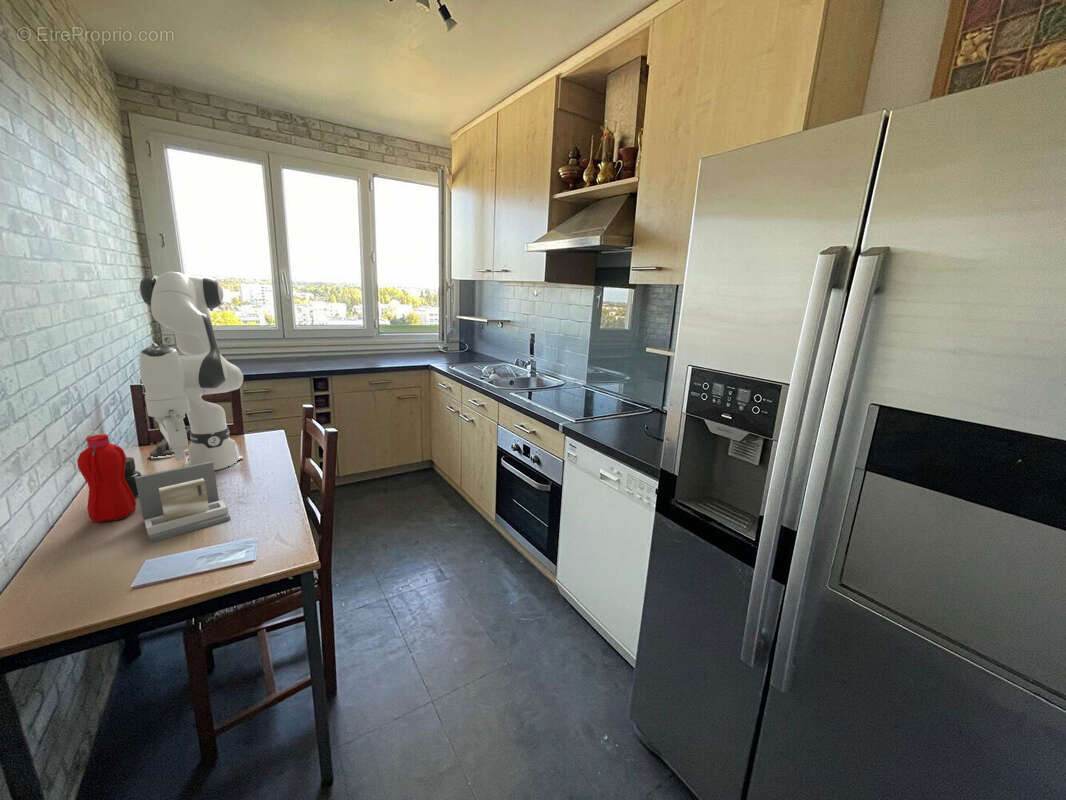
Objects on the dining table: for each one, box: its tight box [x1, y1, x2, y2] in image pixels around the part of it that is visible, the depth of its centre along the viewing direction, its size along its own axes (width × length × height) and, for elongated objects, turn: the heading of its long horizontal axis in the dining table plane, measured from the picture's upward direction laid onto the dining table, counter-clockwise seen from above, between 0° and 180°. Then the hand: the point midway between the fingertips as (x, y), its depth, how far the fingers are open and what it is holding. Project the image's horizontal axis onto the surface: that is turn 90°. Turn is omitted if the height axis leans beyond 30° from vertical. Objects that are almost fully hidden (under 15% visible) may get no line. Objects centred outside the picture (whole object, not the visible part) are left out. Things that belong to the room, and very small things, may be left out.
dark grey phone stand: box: [149, 425, 191, 457], centre depth 183 cm, size 9×7×25 cm
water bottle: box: [76, 433, 137, 523], centre depth 125 cm, size 9×11×25 cm
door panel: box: [159, 478, 209, 522], centre depth 123 cm, size 3×10×11 cm, turn 136°
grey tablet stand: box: [135, 461, 231, 544], centre depth 125 cm, size 16×18×14 cm
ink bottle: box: [125, 456, 142, 498], centre depth 140 cm, size 10×9×12 cm
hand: (177, 454), depth 120 cm, fingers open, 8 cm apart
